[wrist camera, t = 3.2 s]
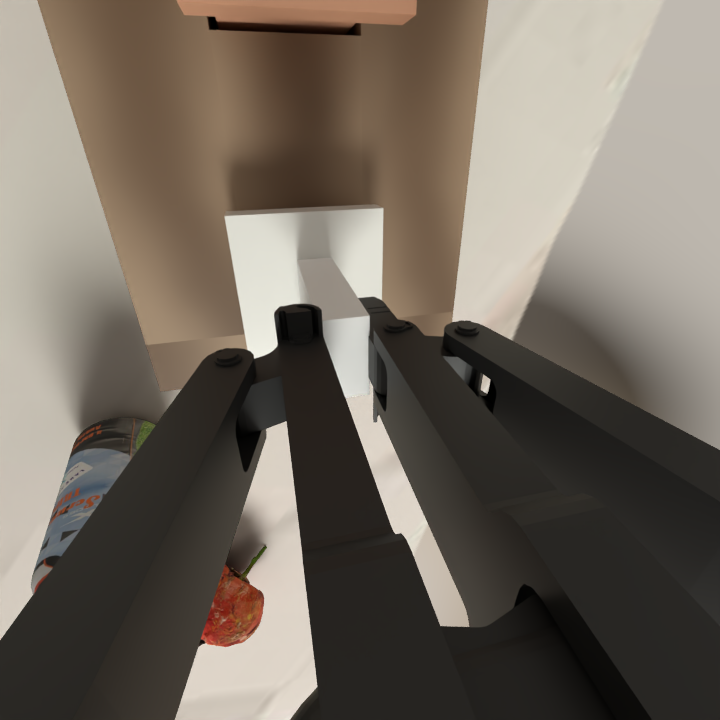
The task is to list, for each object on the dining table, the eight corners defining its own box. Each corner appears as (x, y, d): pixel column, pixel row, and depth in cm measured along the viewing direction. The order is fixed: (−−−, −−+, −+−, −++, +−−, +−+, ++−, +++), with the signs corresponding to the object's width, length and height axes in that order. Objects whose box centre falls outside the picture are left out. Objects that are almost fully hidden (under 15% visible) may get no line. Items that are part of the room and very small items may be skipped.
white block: (250, 300, 25) (249, 360, 18) (232, 192, 22) (224, 215, 15) (347, 291, 26) (381, 344, 20) (344, 188, 23) (383, 208, 16)
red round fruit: (230, 510, 38) (137, 608, 32) (280, 550, 34) (183, 670, 28) (258, 546, 42) (181, 637, 37) (305, 586, 38) (226, 695, 33)
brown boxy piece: (181, 334, 26) (160, 391, 20) (38, -214, 15) (-105, -449, 9) (408, 310, 29) (448, 353, 23) (433, -156, 18) (522, -302, 12)
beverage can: (105, 392, 27) (15, 546, 17) (205, 434, 30) (181, 582, 20) (64, 455, 28) (-40, 631, 18) (164, 487, 32) (122, 651, 22)
